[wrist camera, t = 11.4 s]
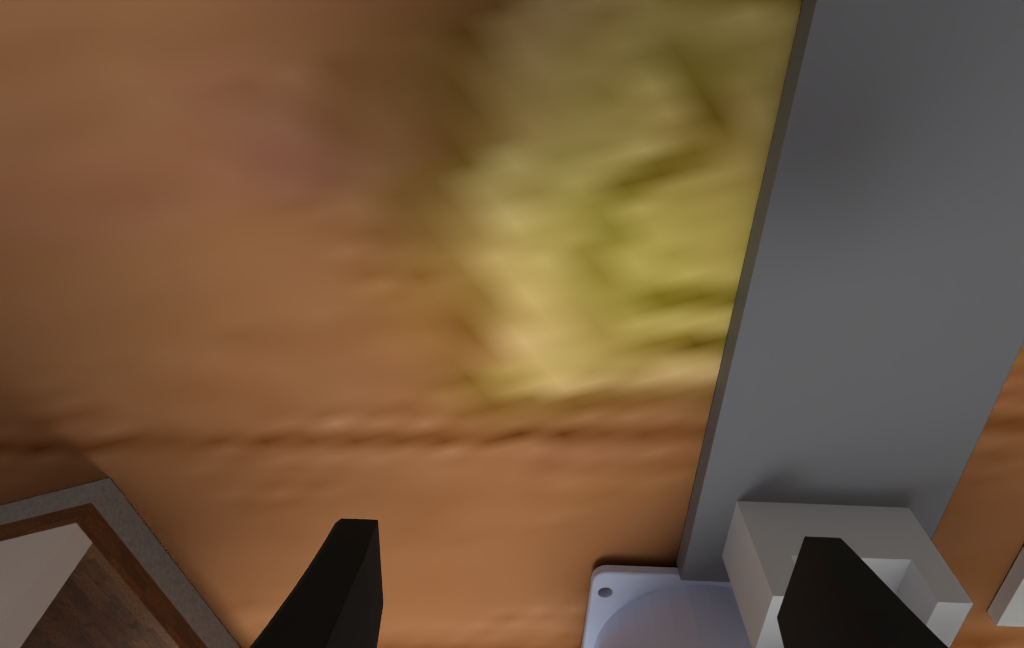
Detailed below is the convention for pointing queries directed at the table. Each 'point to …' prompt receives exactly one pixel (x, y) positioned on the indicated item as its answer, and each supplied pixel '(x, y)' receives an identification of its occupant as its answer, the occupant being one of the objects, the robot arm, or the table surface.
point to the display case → (94, 578)
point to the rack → (869, 304)
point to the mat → (1010, 597)
